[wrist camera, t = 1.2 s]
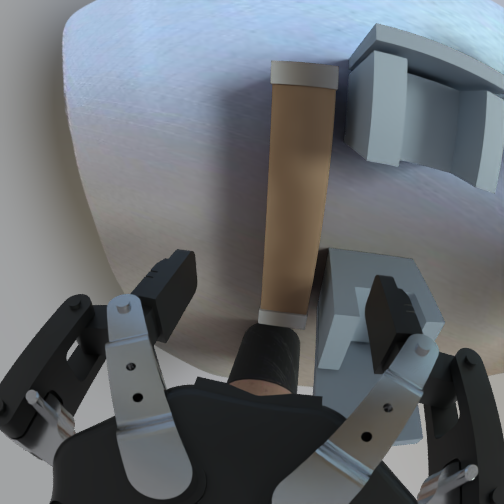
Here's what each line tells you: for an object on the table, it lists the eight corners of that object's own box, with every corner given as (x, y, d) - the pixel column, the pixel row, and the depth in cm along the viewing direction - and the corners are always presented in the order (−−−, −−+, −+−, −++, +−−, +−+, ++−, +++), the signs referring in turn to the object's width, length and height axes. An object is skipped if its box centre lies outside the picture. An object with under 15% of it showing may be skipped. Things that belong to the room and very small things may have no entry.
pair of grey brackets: (444, 84, 15) (579, 84, 2) (391, 315, 28) (416, 443, 14) (348, 58, 17) (415, -26, 3) (316, 308, 29) (308, 446, 15)
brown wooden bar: (331, 78, 18) (338, 66, 13) (306, 291, 28) (304, 329, 23) (280, 73, 19) (271, 60, 14) (267, 286, 29) (258, 323, 24)
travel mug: (295, 316, 30) (267, 493, 13) (306, 358, 33) (287, 506, 16) (233, 322, 33) (175, 477, 15) (252, 361, 36) (213, 496, 19)
